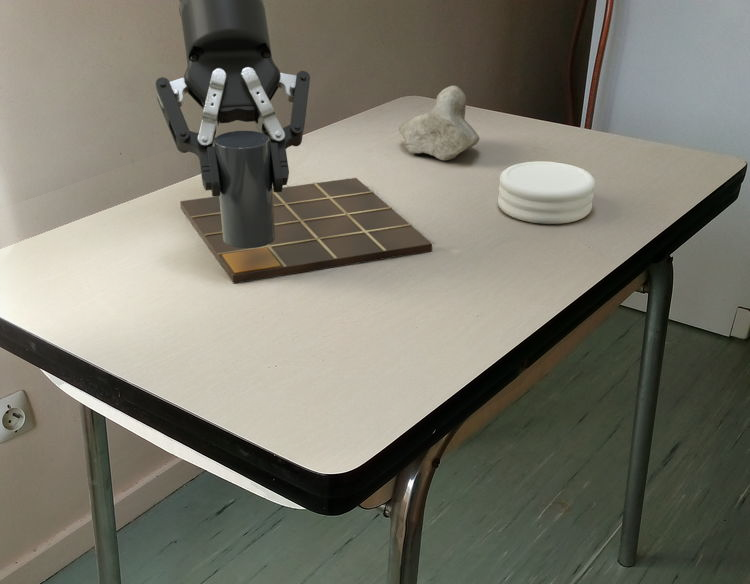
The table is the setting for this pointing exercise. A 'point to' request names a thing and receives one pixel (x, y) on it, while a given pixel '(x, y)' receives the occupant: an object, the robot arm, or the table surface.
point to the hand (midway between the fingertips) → (247, 189)
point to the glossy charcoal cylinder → (245, 188)
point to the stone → (441, 127)
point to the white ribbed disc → (546, 192)
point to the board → (312, 231)
